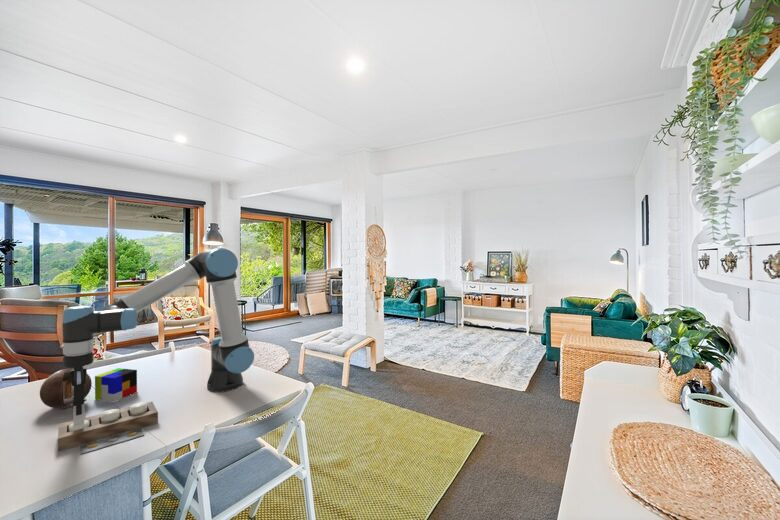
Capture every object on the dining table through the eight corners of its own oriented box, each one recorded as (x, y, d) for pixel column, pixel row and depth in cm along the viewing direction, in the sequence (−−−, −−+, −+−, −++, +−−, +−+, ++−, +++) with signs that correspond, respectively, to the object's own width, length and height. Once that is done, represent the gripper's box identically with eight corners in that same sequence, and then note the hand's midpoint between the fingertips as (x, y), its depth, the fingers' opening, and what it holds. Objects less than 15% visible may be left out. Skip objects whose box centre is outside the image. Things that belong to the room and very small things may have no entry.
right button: (145, 410, 127) (145, 401, 127) (148, 414, 124) (147, 405, 123) (129, 414, 124) (129, 405, 124) (130, 419, 120) (130, 409, 120)
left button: (89, 428, 116) (89, 418, 116) (89, 434, 113) (89, 424, 112) (69, 433, 113) (68, 423, 113) (69, 440, 109) (68, 429, 109)
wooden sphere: (48, 403, 138) (48, 367, 138) (96, 396, 145) (95, 361, 145) (32, 419, 125) (32, 379, 125) (85, 410, 132) (85, 372, 132)
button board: (152, 411, 131) (152, 401, 131) (161, 430, 118) (161, 419, 118) (58, 436, 114) (58, 424, 114) (57, 461, 100) (56, 448, 100)
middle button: (118, 417, 122) (118, 407, 122) (120, 422, 118) (120, 412, 118) (100, 421, 118) (100, 412, 118) (101, 427, 115) (101, 417, 115)
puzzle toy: (114, 401, 140) (114, 378, 140) (95, 399, 142) (94, 376, 142) (137, 392, 150) (136, 369, 149) (118, 390, 152) (118, 368, 151)
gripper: (63, 350, 114) (63, 419, 115) (62, 360, 105) (62, 435, 105) (92, 346, 119) (92, 412, 120) (94, 355, 110) (94, 426, 110)
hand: (78, 423), depth 113 cm, fingers closed
